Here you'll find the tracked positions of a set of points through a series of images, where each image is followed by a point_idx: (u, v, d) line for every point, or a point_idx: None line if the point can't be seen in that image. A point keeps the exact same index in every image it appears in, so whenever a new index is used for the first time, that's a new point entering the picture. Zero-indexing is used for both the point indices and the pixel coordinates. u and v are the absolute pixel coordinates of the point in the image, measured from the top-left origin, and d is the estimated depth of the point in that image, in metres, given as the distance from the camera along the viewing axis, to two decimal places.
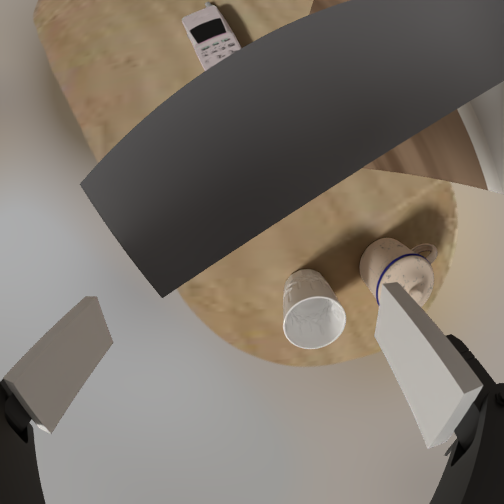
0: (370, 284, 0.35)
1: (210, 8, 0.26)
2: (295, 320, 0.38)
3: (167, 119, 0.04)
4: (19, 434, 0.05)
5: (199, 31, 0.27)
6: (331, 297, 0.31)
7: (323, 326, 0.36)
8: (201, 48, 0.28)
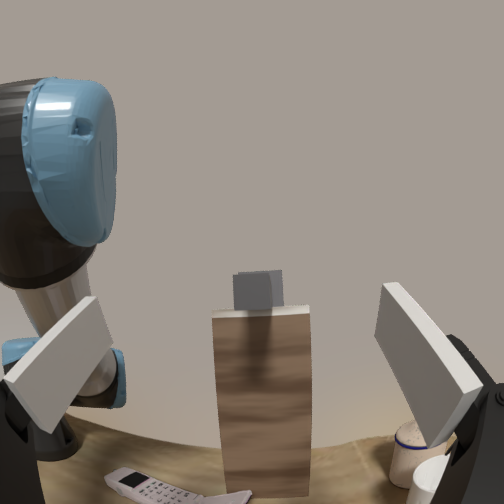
0: None
1: (122, 468, 0.29)
2: None
3: None
4: (19, 434, 0.05)
5: (127, 481, 0.25)
6: None
7: None
8: (138, 491, 0.24)
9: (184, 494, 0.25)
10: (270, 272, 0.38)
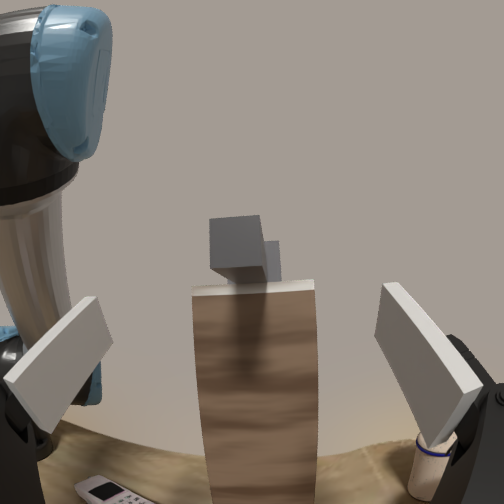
0: None
1: (96, 477, 0.23)
2: None
3: None
4: (19, 434, 0.05)
5: (98, 492, 0.19)
6: None
7: None
8: None
9: None
10: (265, 243, 0.31)
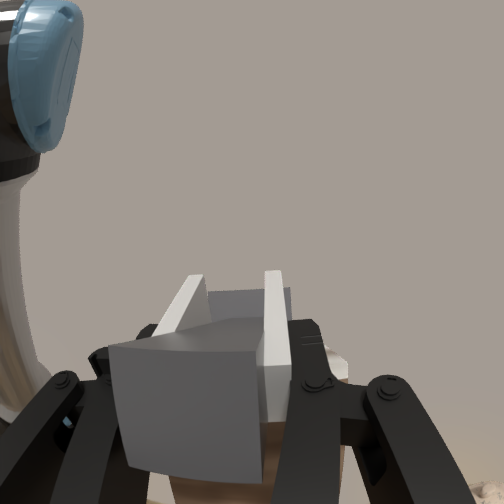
0: None
1: None
2: None
3: (164, 337, 0.07)
4: None
5: None
6: None
7: None
8: None
9: None
10: None
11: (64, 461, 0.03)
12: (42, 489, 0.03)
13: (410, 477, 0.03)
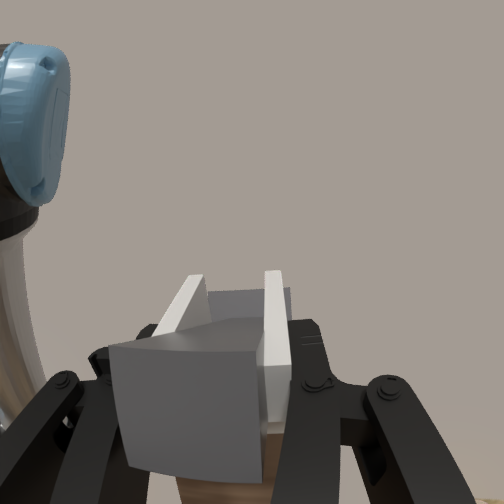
0: None
1: None
2: None
3: (164, 337, 0.07)
4: None
5: None
6: None
7: None
8: None
9: None
10: None
11: (64, 461, 0.03)
12: (42, 489, 0.03)
13: (410, 477, 0.03)
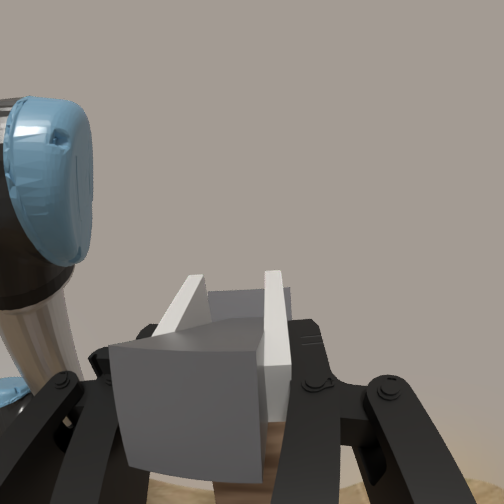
0: None
1: None
2: None
3: (164, 336, 0.07)
4: None
5: None
6: None
7: None
8: None
9: None
10: None
11: (64, 461, 0.03)
12: (42, 489, 0.03)
13: (410, 477, 0.03)
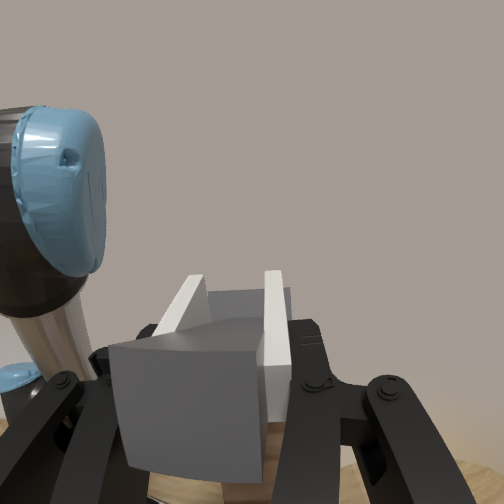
0: None
1: None
2: None
3: (164, 336, 0.07)
4: None
5: None
6: None
7: None
8: None
9: None
10: None
11: (64, 461, 0.03)
12: (42, 489, 0.03)
13: (410, 477, 0.03)
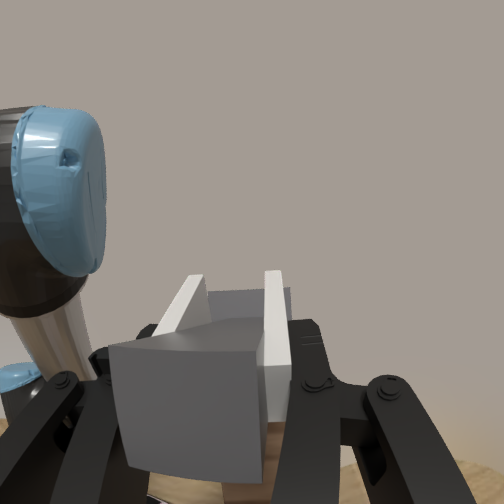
0: None
1: None
2: None
3: (164, 336, 0.07)
4: None
5: None
6: None
7: None
8: None
9: None
10: None
11: (64, 461, 0.03)
12: (42, 489, 0.03)
13: (410, 477, 0.03)
